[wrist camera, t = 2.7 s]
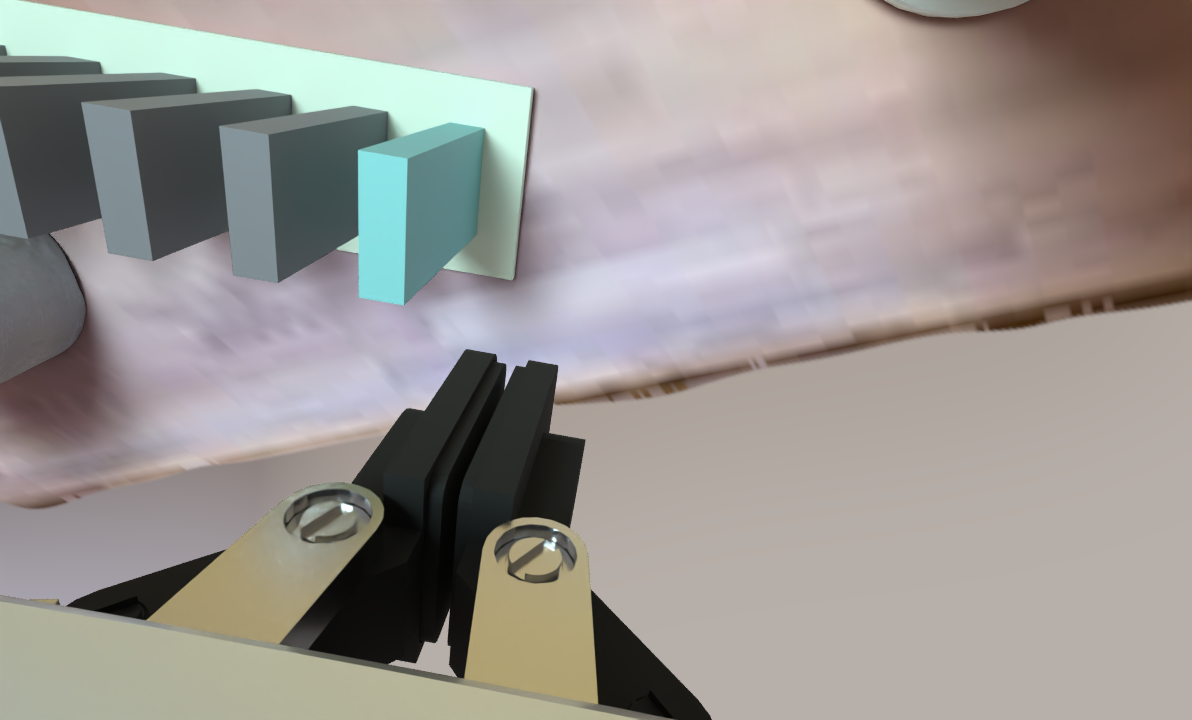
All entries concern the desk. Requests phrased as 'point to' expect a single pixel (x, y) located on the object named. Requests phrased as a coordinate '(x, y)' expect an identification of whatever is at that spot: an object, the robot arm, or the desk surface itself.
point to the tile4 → (59, 145)
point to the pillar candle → (36, 303)
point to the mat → (311, 97)
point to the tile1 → (416, 207)
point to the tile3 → (167, 165)
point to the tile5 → (47, 66)
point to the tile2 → (294, 186)
